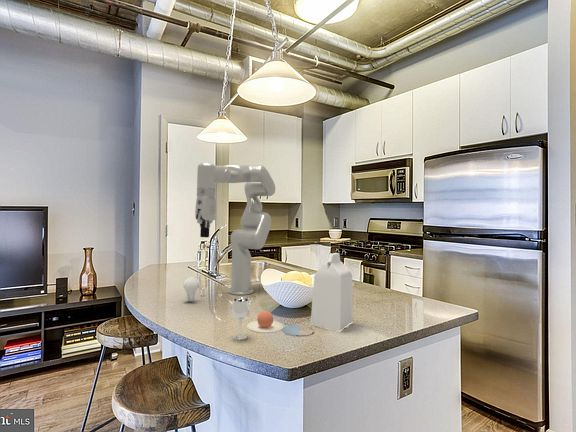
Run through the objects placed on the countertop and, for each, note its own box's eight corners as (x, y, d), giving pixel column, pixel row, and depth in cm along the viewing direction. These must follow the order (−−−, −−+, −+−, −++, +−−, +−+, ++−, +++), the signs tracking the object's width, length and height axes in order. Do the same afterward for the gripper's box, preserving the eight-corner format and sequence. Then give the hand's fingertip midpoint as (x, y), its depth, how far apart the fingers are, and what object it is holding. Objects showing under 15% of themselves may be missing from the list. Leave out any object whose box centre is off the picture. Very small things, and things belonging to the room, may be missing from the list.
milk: (340, 332, 117) (342, 256, 117) (310, 325, 123) (312, 253, 123) (352, 323, 127) (355, 253, 127) (325, 317, 133) (327, 251, 133)
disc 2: (287, 323, 124) (287, 323, 124) (317, 327, 121) (317, 327, 121) (278, 333, 114) (278, 333, 114) (310, 338, 111) (310, 337, 111)
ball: (269, 306, 122) (278, 319, 120) (259, 314, 123) (267, 328, 122) (262, 310, 117) (271, 324, 115) (251, 319, 118) (260, 333, 117)
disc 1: (254, 318, 129) (254, 318, 129) (288, 323, 125) (288, 322, 125) (240, 329, 116) (240, 329, 116) (277, 334, 113) (277, 334, 113)
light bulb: (194, 304, 145) (195, 278, 145) (180, 303, 147) (180, 277, 147) (201, 301, 152) (202, 276, 152) (187, 299, 153) (188, 275, 153)
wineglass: (231, 334, 112) (232, 297, 112) (249, 334, 112) (250, 297, 112) (229, 340, 106) (231, 302, 106) (248, 340, 107) (249, 302, 107)
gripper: (205, 192, 135) (203, 238, 135) (222, 194, 149) (221, 236, 149) (188, 191, 137) (186, 237, 137) (207, 194, 151) (205, 235, 151)
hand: (204, 237), depth 143 cm, fingers closed
